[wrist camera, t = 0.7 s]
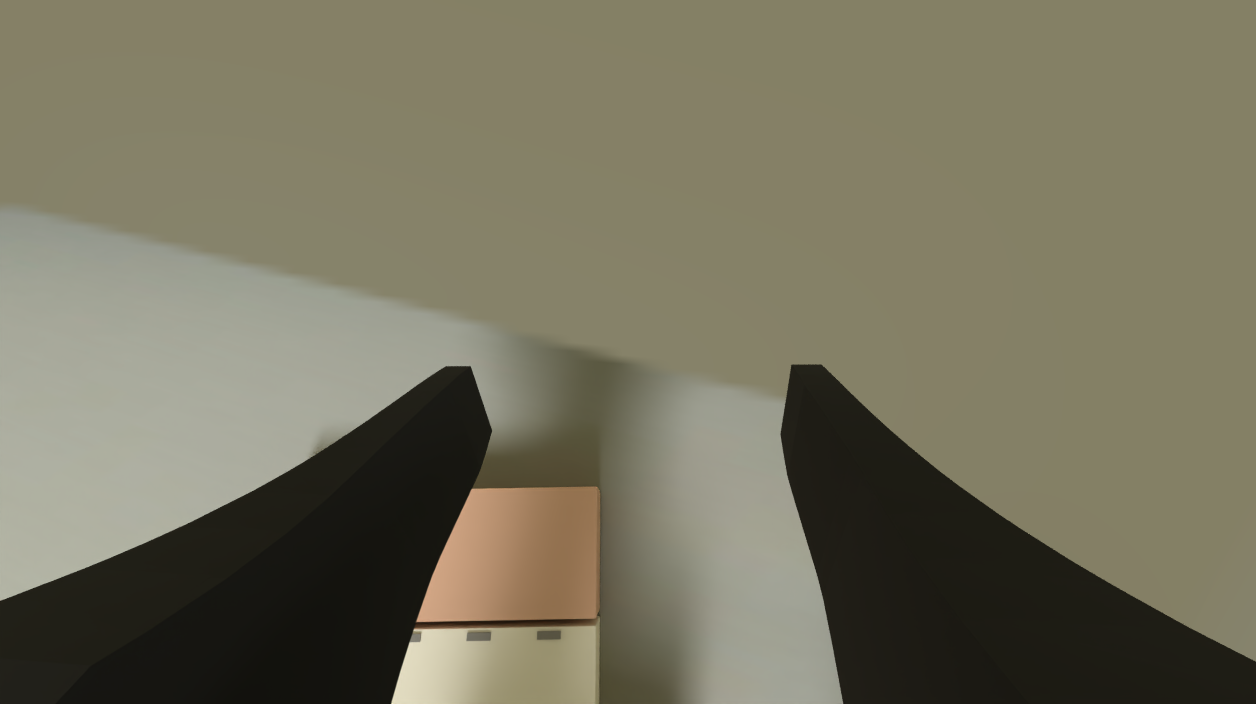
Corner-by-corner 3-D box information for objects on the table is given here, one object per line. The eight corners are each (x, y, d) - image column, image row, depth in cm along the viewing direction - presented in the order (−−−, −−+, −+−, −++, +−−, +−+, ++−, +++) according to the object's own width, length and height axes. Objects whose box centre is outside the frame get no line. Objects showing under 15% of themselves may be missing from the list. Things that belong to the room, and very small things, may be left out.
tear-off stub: (599, 609, 22) (595, 618, 20) (272, 615, 22) (224, 625, 20) (600, 492, 24) (596, 486, 22) (300, 497, 24) (261, 492, 22)
